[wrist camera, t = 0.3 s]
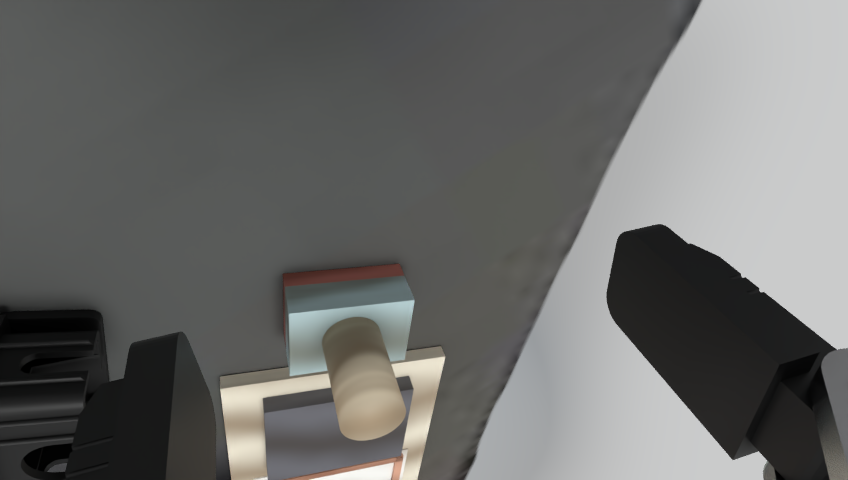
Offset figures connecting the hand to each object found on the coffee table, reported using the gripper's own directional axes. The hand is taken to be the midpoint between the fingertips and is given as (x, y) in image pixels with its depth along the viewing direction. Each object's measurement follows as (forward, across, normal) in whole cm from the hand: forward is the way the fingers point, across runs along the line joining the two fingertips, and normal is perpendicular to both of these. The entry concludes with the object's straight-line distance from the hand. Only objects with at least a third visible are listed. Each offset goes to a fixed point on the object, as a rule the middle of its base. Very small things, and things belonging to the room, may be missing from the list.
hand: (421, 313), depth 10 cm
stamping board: (+20, +3, +32) cm, 38 cm away
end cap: (+20, +17, +16) cm, 31 cm away
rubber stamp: (+19, 0, +16) cm, 25 cm away
